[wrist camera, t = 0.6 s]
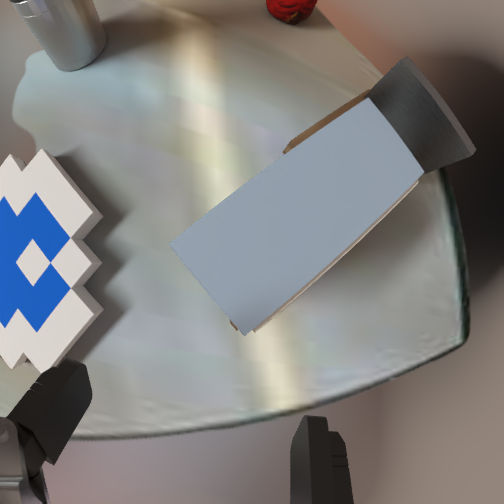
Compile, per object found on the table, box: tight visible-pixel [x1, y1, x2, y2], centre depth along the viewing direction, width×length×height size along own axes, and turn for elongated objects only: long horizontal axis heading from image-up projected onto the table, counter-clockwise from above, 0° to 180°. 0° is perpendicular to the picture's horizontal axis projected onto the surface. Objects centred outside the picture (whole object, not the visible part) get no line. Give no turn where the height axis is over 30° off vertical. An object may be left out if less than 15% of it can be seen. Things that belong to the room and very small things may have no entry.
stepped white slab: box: [0, 149, 104, 374], centre depth 31 cm, size 28×4×28 cm
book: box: [169, 98, 424, 336], centre depth 26 cm, size 6×15×21 cm, turn 129°
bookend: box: [363, 56, 476, 175], centre depth 33 cm, size 13×6×14 cm, turn 39°
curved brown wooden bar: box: [229, 89, 370, 330], centre depth 36 cm, size 12×33×4 cm, turn 129°
